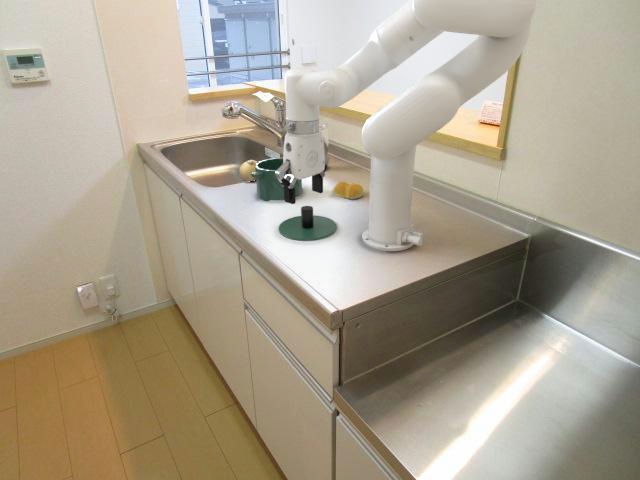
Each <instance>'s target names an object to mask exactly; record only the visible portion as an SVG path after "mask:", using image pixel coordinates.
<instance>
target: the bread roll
mask: <svg viewBox="0 0 640 480" xmlns="http://www.w3.org/2000/svg"><path fill="white" fill-rule="evenodd" d="M363 195H364V188H363V186H362V185H361V184H360V183H354V182H352V183H348V182H346V181H340V182H338V183H336V184H335V186H334V187H333V189H332V196H335V197H337V198H341V199H347V200H357V199H359V198H361V197H363Z"/></svg>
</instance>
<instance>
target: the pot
mask: <svg viewBox="0 0 640 480" xmlns="http://www.w3.org/2000/svg"><path fill="white" fill-rule="evenodd" d="M257 162H258V163H256V164H255V172H254V173H251V176H252V177H255V178H256V180H255V181H256V182H255V183H256V193H257V198H259V199H260V200H262V201H265V202H271V201H285V200H284V186H282V185H281V183H279V182H278V179H277V177H276V175H275V172H276V171H277V170H278V168H279V167H280V166H281V165H282V164H283V157H273V158H267V159H263V160H260V161H257ZM284 177H285V174H284ZM290 180H291V178H290V179H289V182H290ZM302 180H303V179H300V180H299V179H297V180H296V182H295V184H294V186H293V188H295V198H298V197H300V196H301V195H302V194H303V181H302Z"/></svg>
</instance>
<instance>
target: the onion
mask: <svg viewBox="0 0 640 480" xmlns="http://www.w3.org/2000/svg"><path fill="white" fill-rule="evenodd" d="M258 162H259V161H256V160H254V159H250V160H246V161H244V162H243V163H242V164H241V165H240V167H239V169H238V170H239V171H238V173H239V176H240V178H241V179H242V180H244V181H247V182H251V181H252V182H254V181H256V178H255V177H252V176H251V173H254V172H255V164H256V163H258Z"/></svg>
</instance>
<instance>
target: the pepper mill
mask: <svg viewBox="0 0 640 480" xmlns="http://www.w3.org/2000/svg"><path fill="white" fill-rule="evenodd" d="M319 130H320V131H321V132H322V136H323V142H324V153H325V155H326V156H328V151H329V144H330V134H329V126H328V125H326V124H319ZM328 169H329V165H327V169H326V171H327V170H328Z"/></svg>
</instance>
